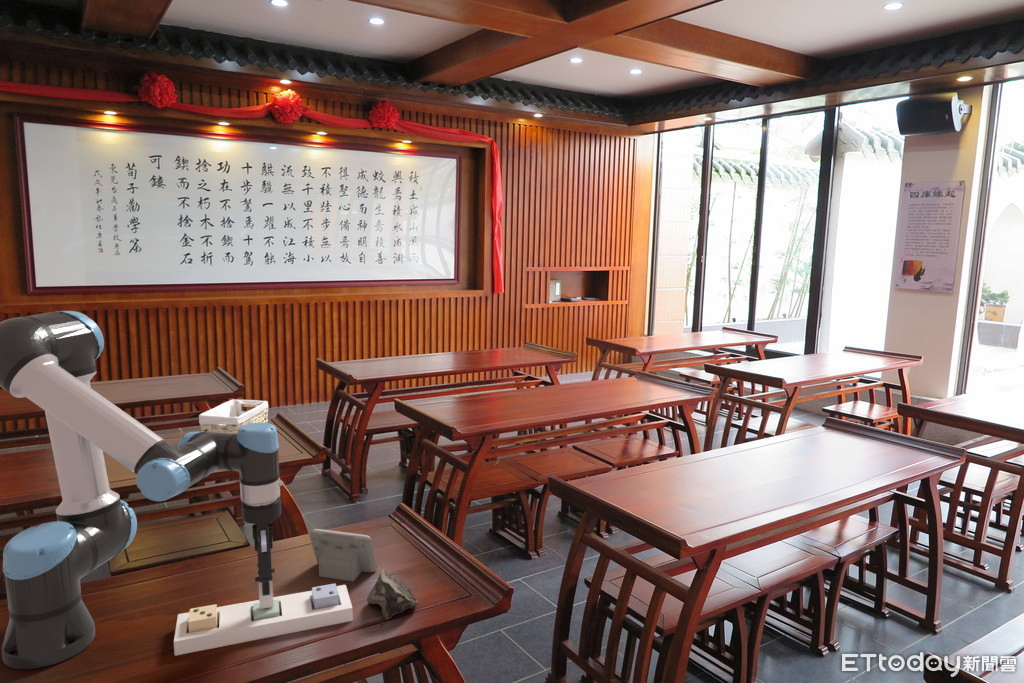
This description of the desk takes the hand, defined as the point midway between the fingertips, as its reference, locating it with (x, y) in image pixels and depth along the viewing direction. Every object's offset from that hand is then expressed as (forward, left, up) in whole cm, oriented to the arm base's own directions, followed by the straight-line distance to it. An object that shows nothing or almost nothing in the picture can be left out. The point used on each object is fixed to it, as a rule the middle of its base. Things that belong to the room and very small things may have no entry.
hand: (266, 606), depth 140 cm
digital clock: (+18, +17, -4) cm, 25 cm away
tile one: (0, 0, -4) cm, 4 cm away
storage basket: (-7, +129, -5) cm, 129 cm away
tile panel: (0, 0, -4) cm, 4 cm away
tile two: (+12, 0, -3) cm, 12 cm away
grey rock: (+26, -3, -5) cm, 27 cm away
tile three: (-12, 0, -3) cm, 12 cm away
